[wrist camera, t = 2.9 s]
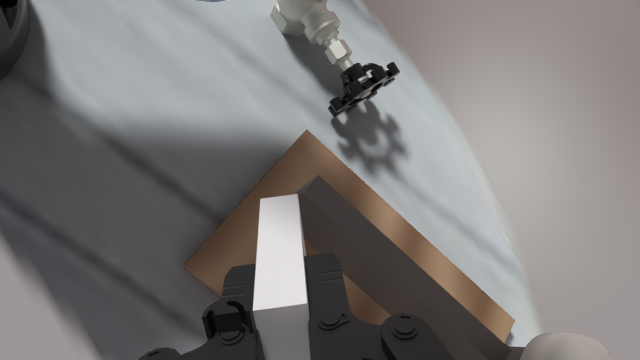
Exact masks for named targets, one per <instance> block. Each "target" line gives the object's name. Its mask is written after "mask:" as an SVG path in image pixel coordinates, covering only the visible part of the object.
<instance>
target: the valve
mask: <svg viewBox="0 0 640 360" xmlns="http://www.w3.org/2000/svg"><path fill="white" fill-rule="evenodd" d="M326 3H327V0H277V2H276V3H275V5H274V7H273V10H272V12H271V14H270V16H271V18H272V19H273V21H274V22H275V24H276V26H277V27H278V29H279V30H280V32H281V33H283V34H290V35H297V36H302V35H303V34H304V33H305V35H306V36H307V38H308V40H309V41H310V43H312V44H314V43H319V45H322V46H323V45H325V46H326V47H327V50H326V51H325V54H326V55H327V57H328V59H329V60H330V62H331V63H332V65H338V64H339V65H340V67H341V68H342V70H343V72H342V74H341V75H340V78H341V80H342V83H343V91H344V94H345V96H344V97H343V98H342V99H340V98H339V96H336V97H335V98H333V99H332V100H331V101H330V102H329V103H330V105H331V106H329V107H328V109H329V111H330V113H331V114H332V116H333V117H334V118H336V117H338V116H339V115H341V114H342V113H343V112H344V111H345V110H346V112H350V111H352V110H353V109H354V108H356V107H357V104H358V103H360V102H361V101H363V100H365V99H367V100H369V99H371V98H372V97H374V96H375V95H376V94H377V90H379V89H380V88H381V87H383V86H384V87H385V86H387V85H389V84H390V83H392V82H393V81H394V80H395V78H394V77H395V76H396V75H398V74H399V73H400V71H399V69H398V68H397V66H396V65H395V63H394V62H391V63H389V64H388V65H387V68H388V69H389V70H387V71H385V70H384V69H383V67H382V66H379V65H377V64H374V63H368V64H366V65H364V66H361V64H360V63H356V64H354V65H353V63H352V61H351V60H350V58H349V56H350V55H351V53H352V51H351V50H350V48H349V47H348V45H347V44H346V42H345V41H344V40H338V38H337V36H338V34H339V31H338V30H337V28H338V27H339V25H340V21H339V19H338V18H337V16H336V14H335V13H334V12H333V11H328V10H327V8H326ZM370 70H372V71H371V72H370V73H371V75H372V76H373V77H371V78H369V76H368V75H367V73H366V72H368V71H370Z"/></svg>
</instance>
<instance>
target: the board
mask: <svg viewBox="0 0 640 360" xmlns="http://www.w3.org/2000/svg"><path fill="white" fill-rule="evenodd" d="M317 175H319V176H320V177H322V178H323V179H324V180H325V181H326V182H327V183H328V184H329V185H330V186H331V187H333V188H334V189H335V190H336V191H337V192H338V193H339V194H340V195H341V196H342V197H344V198H345V199H346V200H347V201H348V202H349V203H350V204H351V205H352V206H353V207H355V208H356V209H357V210H358V211H359V212H360V213H361V214H362V215H363V216H365V217H366V218H367V219H368V220H369V221H370V222H371V223H372V224H373V225H374V226H376V227H377V228H378V229H379V230H380V231H381V232H382V233H383V234H384V235H385V236H387V237H388V238H389V239H390V240H391V241H392V242H393V243H394V244H395V245H396V246H398V247H399V248H400V249H401V250H402V251H403V252H404V253H405V254H406V255H407V256H409V257H410V258H411V259H412V260H413V261H414V262H415V263H416V264H417V265H418V266H420V267H421V268H422V269H423V270H424V271H425V272H426V273H427V274H428V275H430V276H431V277H432V278H433V279H434V280H435V281H436V282H437V283H438V284H439V285H441V286H442V287H443V288H444V289H445V290H446V291H447V292H448V293H449V294H450V295H452V296H453V297H454V298H455V299H456V300H457V301H458V302H459V303H460V304H461V305H463V306H464V307H465V308H466V309H467V310H468V311H469V312H470V313H471V314H472V315H474V316H475V317H476V318H477V319H478V320H479V321H480V322H481V323H482V324H483V325H485V326H486V327H487V328H488V329H489V330H490V331H491V332H492V333H493V334H495V335H496V336H497V337H498V338H499V339H500V340H501V341H502V342H503V343H505V341H506V338H507V336H508V334H509V332H510V330H511V328H512V326H513V324H514V321H515V320H514V319H513V318H512V317H511V316H510V315H509V314H508V313H506V312H505V311H504V310H503V309H502V308H501V307H500V306H499V305H498V304H497V303H496V302H494V301H493V300H492V299H491V298H490V297H489V296H488V295H487V294H486V293H485V292H484V291H482V290H481V289H480V288H479V287H478V286H477V285H476V284H475V283H474V282H473V281H472V280H470V279H469V278H468V277H467V276H466V275H465V274H464V273H463V272H462V271H461V270H460V269H458V268H457V267H456V266H455V265H454V264H453V263H452V262H451V261H450V260H449V259H448V258H446V257H445V256H444V255H443V254H442V253H441V252H440V251H439V250H438V249H437V248H436V247H434V246H433V245H432V244H431V243H430V242H429V241H428V240H427V239H426V238H425V237H424V236H423V235H421V234H420V233H419V232H418V231H417V230H416V229H415V228H414V227H413V226H412V225H411V224H409V223H408V222H407V221H406V220H405V219H404V218H403V217H402V216H401V215H400V214H399V213H397V212H396V211H395V210H394V209H393V208H392V207H391V206H390V205H389V204H388V203H387V202H385V201H384V200H383V199H382V198H381V197H380V196H379V195H378V194H377V193H376V192H375V191H373V190H372V189H371V188H370V187H369V186H368V185H367V184H366V183H365V182H364V181H363V180H361V179H360V178H359V177H358V176H357V175H356V174H355V173H354V172H353V171H352V170H351V169H349V168H348V167H347V166H346V165H345V164H344V163H343V162H342V161H341V160H340V159H339V158H337V157H336V156H335V155H334V154H333V153H332V152H331V151H330V150H329V149H328V148H327V147H325V146H324V145H323V144H322V143H321V142H320V141H319V140H318V139H317V138H316V137H315V136H313V135H312V134H311V133H310V132H309V131H308V130H306V131H305V132H304V133H303V134H302V135H301V136H300V137H299V138H298V140H297V141H296V142H295V143H294V144H293V145H292V146H291V147H290V148H289V150H288V151H287V152H286V153H285V154H284V155H283V156H282V157H281V158H280V159H279V161H278V162H277V163H276V164H275V165H274V166H273V167H272V168H271V169H270V171H269V172H268V173H267V174H266V175H265V176H264V177H263V178H262V179H261V180H260V182H259V183H258V184H257V185H256V186H255V187H254V188H253V189H252V190H251V192H250V193H249V194H248V195H247V196H246V197H245V198H244V199H243V200H242V202H241V203H240V204H239V205H238V206H237V207H236V208H235V209H234V210H233V211H232V213H231V214H230V215H229V216H228V217H227V218H226V219H225V220H224V221H223V223H222V224H221V225H220V226H219V227H218V228H217V229H216V230H215V231H214V232H213V234H212V235H211V236H210V237H209V238H208V239H207V240H206V241H205V242H204V244H203V245H202V246H201V247H200V248H199V249H198V250H197V251H196V252H195V253H194V255H193V256H192V257H191V258H190V259H189V260H188V261H187V262H186V263H185V265H184V266H183V267H185V268H186V269H187V270H188V271H189V272H190V273H192V274H193V275H194V276H195V277H196V278H197V279H199V280H200V281H201V282H202V283H203V284H205V285H206V286H207V287H208V288H209V289H210V290H212V291H213V292H214V293H215V294H216V295H217V296H219V297H220V298H222V290H223V284H224V278H225V276H226V274H227V273H228V272H229V270H230V269H231V268H232V267H234V266H241V265H248V264H256V257H257V242H258V227H259V213H260V199H263V198H270V197H278V196H286V195H293V194H294V193H296V192H297V191H298V190H299V189H301V188H302V187H303V186H304V185H306V184H307V183H308V182H310V181H311V180H312V179H313V178H315V177H316V176H317ZM304 242H305V249H306V256H308V255H315V254H321V253H320V252H319V251H317V250H316V249H315V248H314V247H313V246H312V245H311V244H310V243H308V242H307V241H306V240H305V239H304ZM343 279H344V283H345V288H346V293H347V298H348V302H349V307H350V310H351V312H352V314H353V315H354V316H355V317H356V318H358V319H359V320H361V321H363V322H366V323H371V324H378V325H382V323H383V322H384V321H385V320H386V318H388V317H390V316H391V315H390V314H389V313H387V312H386V311H385V310H384V309H383V308H382V307H381V306H380V305H378V304H377V303H376V302H375V301H374V300H373V299H372V298H370V297H369V296H368V295H367V294H366V293H365V292H364V291H363V290H361V289H360V288H359V287H358V286H357V285H356V284H355V283H354V282H352V281H351V280H350V279H349V278H348V277H347V276H346V275H345V274H343Z"/></svg>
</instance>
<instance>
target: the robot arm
mask: <svg viewBox="0 0 640 360" xmlns="http://www.w3.org/2000/svg"><path fill="white" fill-rule="evenodd" d="M198 1H207V2H219V1H224V0H198ZM28 29H29V10H28V4H27V0H0V79H2V78H3V77H4V76H5V75H6V74H7V73H8V71H9V70H10V69H11V68H12V67H13V65H14V64H15V62H16V61H17V59H18V58H19V56H20V54H21V52H22V50H23V48H24V45H25V42H26V39H27V35H28ZM202 320H203V324H204V327H205V331H206V334H207V338H208V342H207V343H205V344H204V345H202V346H201V347H199V348H197V349H195V350H193V351H190V352H188V353H185V354H183V355H180V354H179V353H178V352H177V351H176V350H175V349H171V348H158V349H155V350H153V351H150V352H148V353H146V354H145V355H143V356H142V357H141V358H139V360H455V359H454V358H453V356H452V355H451V354H450V353H449V351H448V350H447V349H446V347H445V346H444V345H443V344H442V342H441V341H440V340H439V338H438V337H437V336H436V335H435V333H434V332H433V331H432V330H431V328H430V327H429V326H428V324H427V323H426V322H425V321H424V320H422V319H421V318H420V317H418V316H415V315H413V314H406V313H400V314H395V315H392V316H390V317H388V318H386V320H385V321H384V322H383V323H382V325H378V324H371V323H366V322H363V321H361V320H359V319H358V318H356V317H355V316H354V315H353V314H352V312H351V310H350V307H349V302H348V298H347V293H346V288H345V283H344V279H343V273H342V269H341V264H340V260H339V259H338V258H337V257H336V256H335V255H334V254H333V253H332V252H330V253H323V254H315V255H308V256H306V249H305V242H304V235H303V228H302V221H301V214H300V207H299V200H298V194H293V195H286V196H278V197H270V198H263V199H260V213H259V227H258V242H257V257H256V264H248V265H241V266H234V267H232V268H231V269H230V270H229V272H228V273H227V274H226V276H225V278H224V284H223V290H222V298H221V300H219V301H217V302H215V303H213V304H212V305H210V306H209V307H208V308H207V309H206V310H205V311H204V313H203V316H202Z"/></svg>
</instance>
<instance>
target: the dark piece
mask: <svg viewBox="0 0 640 360" xmlns="http://www.w3.org/2000/svg"><path fill="white" fill-rule="evenodd" d="M294 194H298V200H299V207H300V214H301V221H302V228H303V235H304V239H305V240H306V241H307V242H308V243H310V244H311V245H312V246H313V247H314V248H315V249H316V250H317V251H319V252H320V253H321V254H323V253H330V252H332V253H333V254H334V255H335V256H336V257H337V258H338V259H339V260H340V264H341V269H342V273H343V274H345V275H346V276H347V277H348V278H349V279H350V280H351V281H352V282H354V283H355V284H356V285H357V286H358V287H359V288H360V289H361V290H363V291H364V292H365V293H366V294H367V295H368V296H369V297H370V298H372V299H373V300H374V301H375V302H376V303H377V304H378V305H380V306H381V307H382V308H383V309H384V310H385V311H386V312H387V313H389V314H390V315H391V316H392V315H395V314H400V313H406V314H413V315H415V316H418V317H420V318H421V319H422V320H424V321H425V322H426V323H427V324H428V326H429V327H430V328H431V330H432V331H433V332H434V333H435V335H436V336H437V337H438V338H439V340H440V341H441V342H442V344H443V345H444V346H445V347H446V349H447V350H448V351H449V353H450V354H451V355H452V356H453V358H454V359H455V360H613V359H612V358H611V356H610V354H609V353H608V352H607V350H606V349H605V348H604V347H603V346H602V345H601V344H600V343H599V342H598V341H596V340H595V339H593V338H591V337H589V336H586V335H582V334H561V333H558V334H557V333H545V334H541V335H538V336H536V337H535V338H533V339H532V340H531V341H530V342H529V343H528V344H527V346H526V347H511V346H507V345H506V344H504V343H503V342H502V341H501V340H500V339H499V338H498V337H497V336H496V335H495V334H493V333H492V332H491V331H490V330H489V329H488V328H487V327H486V326H485V325H483V324H482V323H481V322H480V321H479V320H478V319H477V318H476V317H475V316H474V315H472V314H471V313H470V312H469V311H468V310H467V309H466V308H465V307H464V306H463V305H461V304H460V303H459V302H458V301H457V300H456V299H455V298H454V297H453V296H452V295H450V294H449V293H448V292H447V291H446V290H445V289H444V288H443V287H442V286H441V285H439V284H438V283H437V282H436V281H435V280H434V279H433V278H432V277H431V276H430V275H428V274H427V273H426V272H425V271H424V270H423V269H422V268H421V267H420V266H418V265H417V264H416V263H415V262H414V261H413V260H412V259H411V258H410V257H409V256H407V255H406V254H405V253H404V252H403V251H402V250H401V249H400V248H399V247H398V246H396V245H395V244H394V243H393V242H392V241H391V240H390V239H389V238H388V237H387V236H385V235H384V234H383V233H382V232H381V231H380V230H379V229H378V228H377V227H376V226H374V225H373V224H372V223H371V222H370V221H369V220H368V219H367V218H366V217H365V216H363V215H362V214H361V213H360V212H359V211H358V210H357V209H356V208H355V207H353V206H352V205H351V204H350V203H349V202H348V201H347V200H346V199H345V198H344V197H342V196H341V195H340V194H339V193H338V192H337V191H336V190H335V189H334V188H333V187H331V186H330V185H329V184H328V183H327V182H326V181H325V180H324V179H323V178H322V177H320V176H319V175H317V176H316V177H315V178H313V179H312V180H311V181H310V182H308V183H307V184H306V185H304V186H303V187H302V188H301V189H299V190H298V191H297V192H296V193H294Z"/></svg>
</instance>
